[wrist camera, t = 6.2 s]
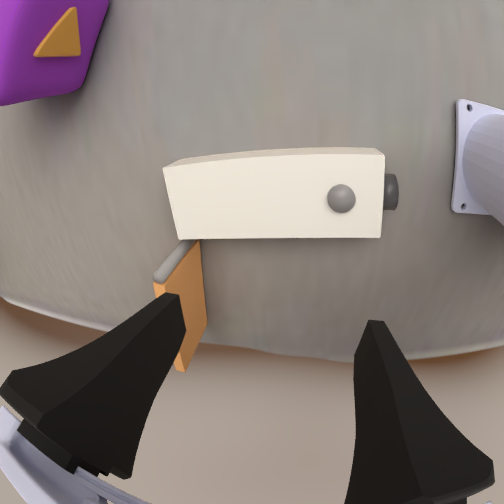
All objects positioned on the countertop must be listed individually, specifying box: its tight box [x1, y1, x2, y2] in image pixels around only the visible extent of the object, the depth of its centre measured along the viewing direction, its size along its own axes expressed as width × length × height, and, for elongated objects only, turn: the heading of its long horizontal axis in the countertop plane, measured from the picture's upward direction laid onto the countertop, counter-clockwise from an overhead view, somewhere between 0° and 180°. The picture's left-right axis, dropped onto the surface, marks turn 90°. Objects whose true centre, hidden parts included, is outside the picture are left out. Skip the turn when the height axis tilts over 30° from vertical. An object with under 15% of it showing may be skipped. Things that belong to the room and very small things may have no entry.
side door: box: [153, 239, 208, 372], centre depth 21 cm, size 10×1×6 cm, turn 178°
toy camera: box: [0, 0, 109, 106], centre depth 9 cm, size 11×14×10 cm
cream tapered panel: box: [163, 147, 399, 239], centre depth 17 cm, size 14×5×3 cm, turn 97°
